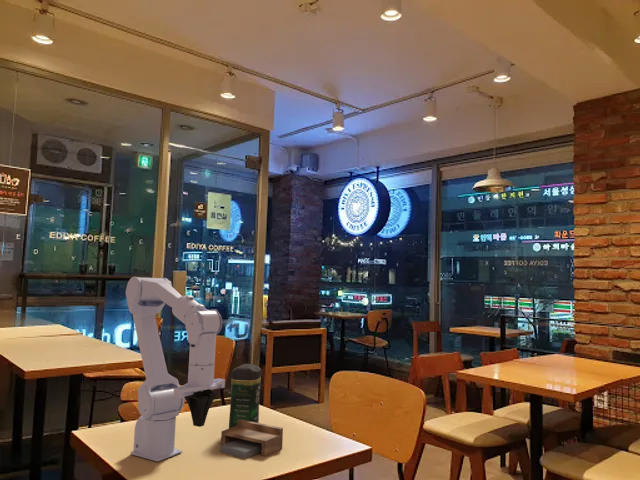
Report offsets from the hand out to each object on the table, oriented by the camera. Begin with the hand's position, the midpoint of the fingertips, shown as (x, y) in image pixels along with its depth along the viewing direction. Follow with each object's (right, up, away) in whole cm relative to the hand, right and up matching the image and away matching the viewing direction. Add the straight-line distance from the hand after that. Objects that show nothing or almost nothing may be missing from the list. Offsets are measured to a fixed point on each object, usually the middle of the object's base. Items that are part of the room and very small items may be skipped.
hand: (198, 425), depth 111 cm
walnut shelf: (+9, -12, +16) cm, 22 cm away
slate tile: (+8, -12, +14) cm, 20 cm away
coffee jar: (+6, -13, +30) cm, 33 cm away
